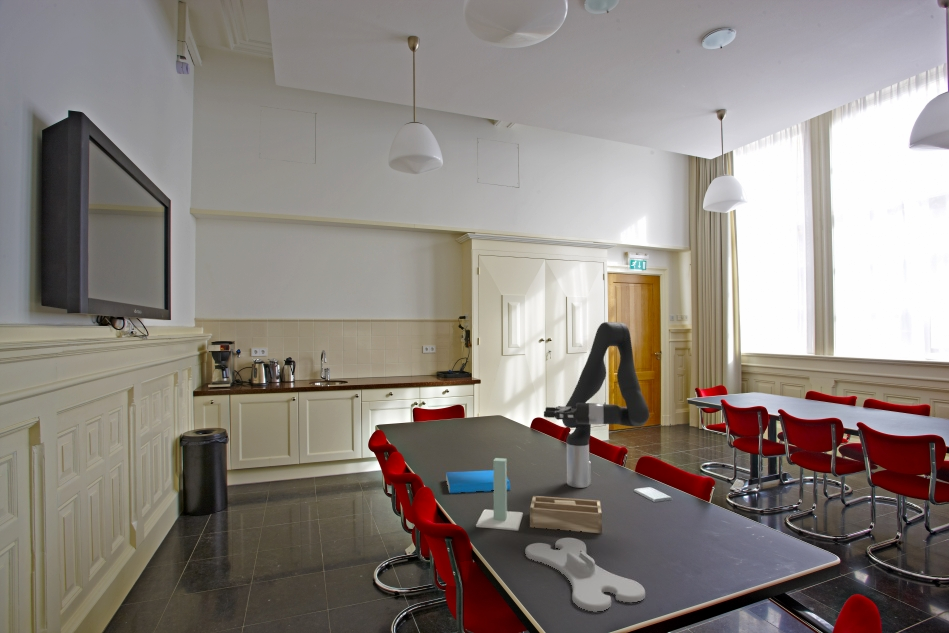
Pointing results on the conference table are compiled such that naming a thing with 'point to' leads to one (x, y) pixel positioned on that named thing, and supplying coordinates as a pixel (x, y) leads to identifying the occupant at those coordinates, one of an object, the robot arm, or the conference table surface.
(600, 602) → the holder
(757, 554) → the conference table surface
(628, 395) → the robot arm
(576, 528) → the box
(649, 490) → the hard drive
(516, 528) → the mat
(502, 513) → the pale green bar
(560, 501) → the upper offcut
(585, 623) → the conference table surface
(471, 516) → the conference table surface
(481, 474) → the book
